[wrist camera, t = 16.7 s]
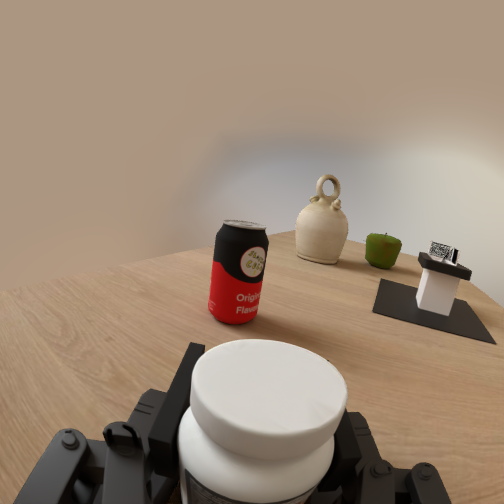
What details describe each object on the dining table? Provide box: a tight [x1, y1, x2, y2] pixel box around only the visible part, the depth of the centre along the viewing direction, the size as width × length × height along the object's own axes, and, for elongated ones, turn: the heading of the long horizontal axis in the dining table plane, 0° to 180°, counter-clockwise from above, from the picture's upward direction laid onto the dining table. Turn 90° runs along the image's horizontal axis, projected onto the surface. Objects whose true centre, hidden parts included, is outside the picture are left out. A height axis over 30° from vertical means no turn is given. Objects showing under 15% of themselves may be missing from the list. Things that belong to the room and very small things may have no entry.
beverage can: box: [208, 220, 269, 324], centre depth 34 cm, size 6×6×12 cm
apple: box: [365, 233, 402, 269], centre depth 83 cm, size 12×12×11 cm
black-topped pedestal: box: [372, 241, 496, 344], centre depth 47 cm, size 28×26×13 cm
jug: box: [296, 175, 348, 264], centre depth 77 cm, size 15×16×25 cm
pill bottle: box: [176, 339, 348, 504], centre depth 8 cm, size 6×6×10 cm
